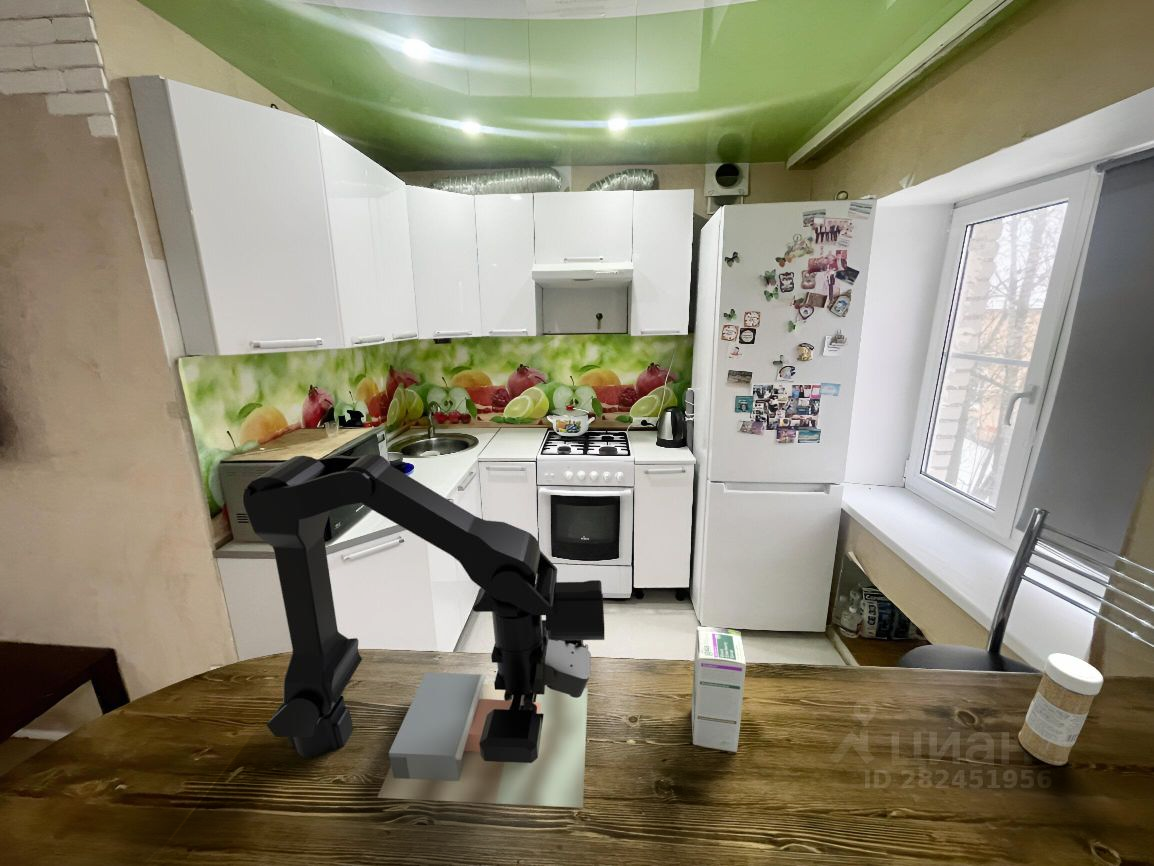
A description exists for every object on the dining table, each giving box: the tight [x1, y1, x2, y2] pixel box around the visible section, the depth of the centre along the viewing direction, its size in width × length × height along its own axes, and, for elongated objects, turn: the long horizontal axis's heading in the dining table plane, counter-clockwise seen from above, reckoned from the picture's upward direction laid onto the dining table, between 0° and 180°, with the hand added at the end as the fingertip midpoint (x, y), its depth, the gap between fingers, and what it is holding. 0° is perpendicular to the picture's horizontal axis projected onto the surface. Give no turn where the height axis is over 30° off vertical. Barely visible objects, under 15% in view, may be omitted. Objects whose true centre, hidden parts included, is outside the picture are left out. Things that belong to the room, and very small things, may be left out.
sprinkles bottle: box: [1017, 653, 1104, 766], centre depth 55 cm, size 5×5×14 cm
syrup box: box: [691, 625, 747, 753], centre depth 59 cm, size 6×6×14 cm
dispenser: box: [388, 672, 487, 781], centre depth 59 cm, size 9×12×4 cm
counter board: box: [377, 683, 589, 809], centre depth 60 cm, size 24×16×1 cm, turn 87°
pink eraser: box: [464, 699, 541, 752], centre depth 59 cm, size 10×5×3 cm, turn 87°
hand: (526, 730), depth 59 cm, fingers closed on pink eraser, 5 cm apart
